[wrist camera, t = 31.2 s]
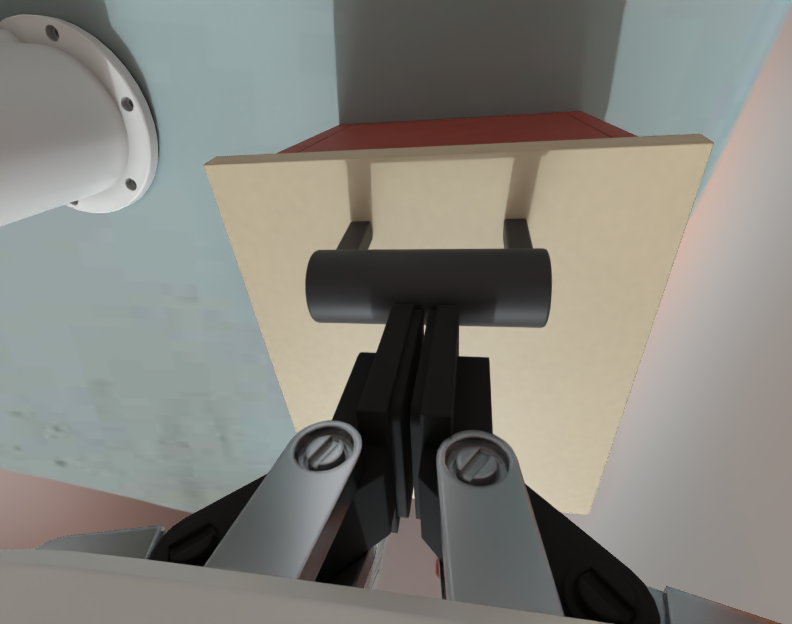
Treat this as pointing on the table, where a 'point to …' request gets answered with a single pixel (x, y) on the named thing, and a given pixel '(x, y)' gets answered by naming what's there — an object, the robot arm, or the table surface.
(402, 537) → the rectangular carton
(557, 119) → the red open box
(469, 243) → the lid
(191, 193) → the table surface
